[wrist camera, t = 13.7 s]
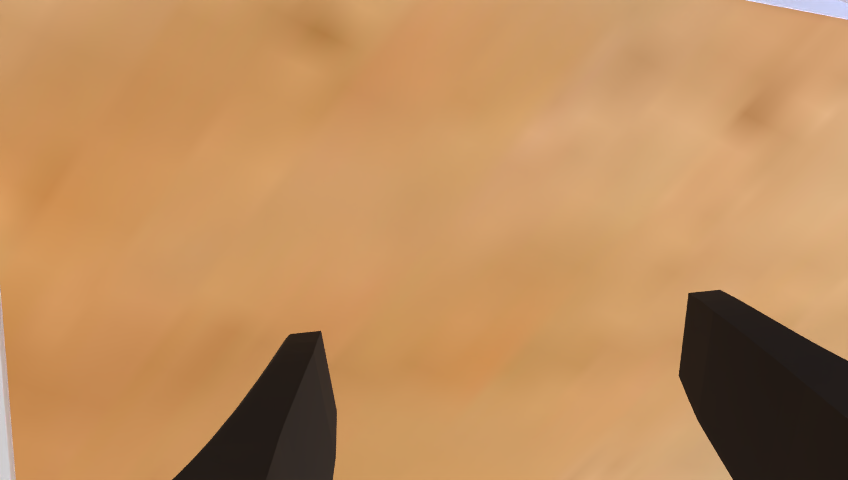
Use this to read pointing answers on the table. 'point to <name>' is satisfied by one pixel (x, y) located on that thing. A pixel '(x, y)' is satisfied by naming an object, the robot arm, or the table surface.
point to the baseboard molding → (5, 414)
